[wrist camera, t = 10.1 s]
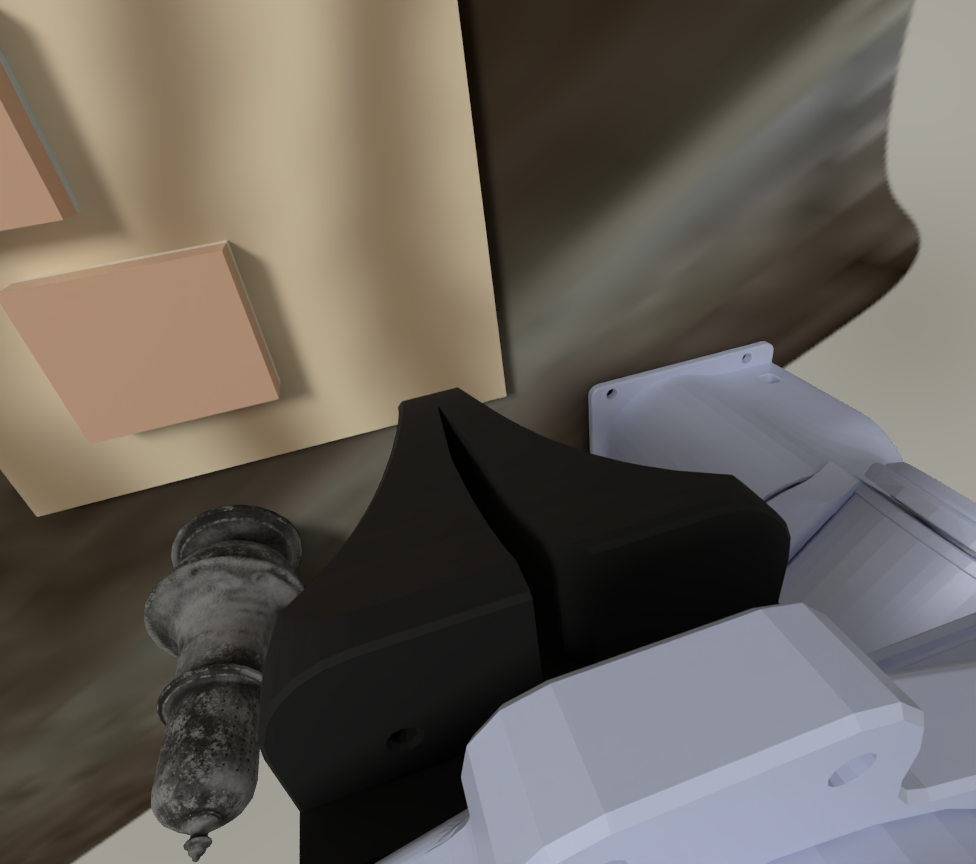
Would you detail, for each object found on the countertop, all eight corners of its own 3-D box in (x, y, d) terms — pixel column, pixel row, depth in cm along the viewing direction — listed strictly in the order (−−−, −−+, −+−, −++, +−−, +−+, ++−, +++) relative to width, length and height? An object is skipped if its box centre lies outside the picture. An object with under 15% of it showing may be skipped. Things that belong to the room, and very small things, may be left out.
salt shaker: (312, 499, 24) (319, 777, 14) (305, 597, 27) (306, 889, 17) (159, 499, 22) (42, 823, 12) (167, 605, 25) (77, 941, 15)
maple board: (432, -125, 15) (440, -138, 14) (499, 386, 24) (506, 396, 23) (-363, -55, 12) (-411, -67, 11) (47, 500, 21) (36, 516, 20)
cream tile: (221, 250, 16) (-6, 294, 15) (279, 399, 19) (89, 444, 18) (227, 239, 17) (17, 279, 16) (280, 380, 20) (103, 422, 19)
